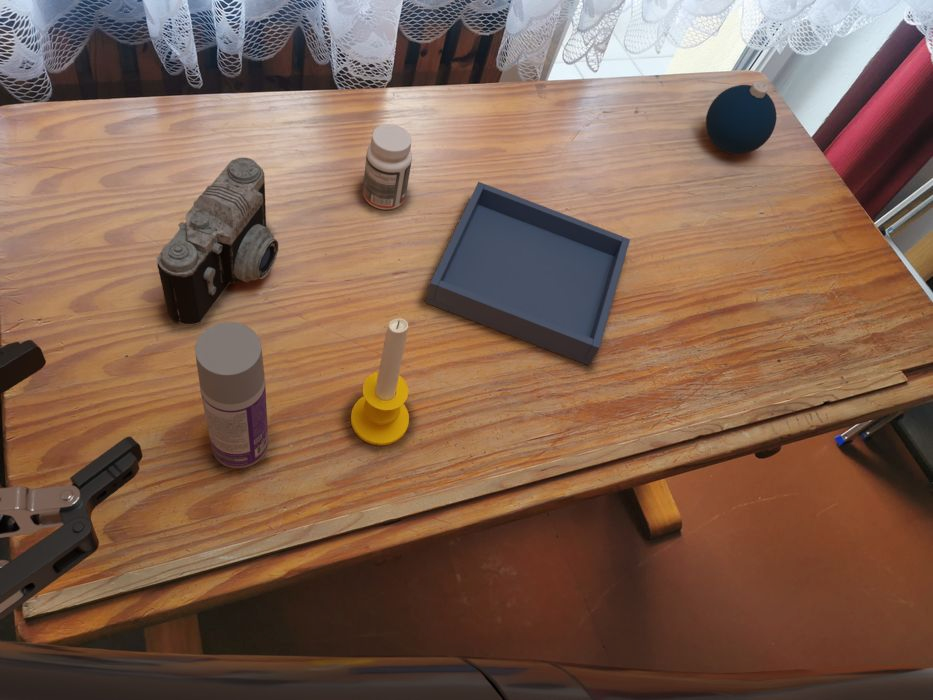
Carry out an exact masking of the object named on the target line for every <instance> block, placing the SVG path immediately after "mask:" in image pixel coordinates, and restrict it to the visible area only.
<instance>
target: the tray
mask: <svg viewBox="0 0 933 700" xmlns="http://www.w3.org/2000/svg"><path fill="white" fill-rule="evenodd" d="M630 241H631V238H629V237H625V236H623V235H620V234H617V233H615V232H612V231H609V230H608V229H604V228H601V227H599V226H597V225H594V224H591V223H589V222H586V221H584V220H581V219H579V218H575V217H573V216H571V215H568V214H565V213H562V212H560V211H557V210H555V209H552V208H549V207H547V206H544V205H542V204H539V203H536V202H534V201H531V200H528V199H526V198H523V197H522V196H521V197H520V196H518V195H515V194H512V193H510V192H507V191H504V190H502V189H499V188H497V187H495V186H491V185H488V184H486V183H483V182H481V181H478V182H477V184H476V186H475V187H474V189H473V192H472V194H471V197H470V199H469V201H468V202H467V204H466V207H465V209H464V211H463V213H462V215H461V218H460V219H459V222H458V223H457V226H456V227H455V230H454V232H453V234H452V236H451V238H450V241H448V244H447V246H446V248H445V251H444V253H443V255H442V257H441V260H440V261H439V263H438V266H437V267H436V269H435V272H434V274H433V276H432V278H431V280H430V282H429V287H428V290H427V295H426V299H425V304H428V305H431V306H434V307H436V308H439V309H441V310H444V311H446V312H448V313H451V314H453V315H454V314H455V315H456V316H458V317H462V318H465V319H467V320H470V321H472V322H475V323H477V324H480V325H483V326H484V327H488V328H490V329H493V330H495V331H498V332H501V333H502V334H503V333H504V334H506V335H508V336H511V337H513V338H516V339H518V340H522V341H523V342H526V343H529V344H531V345H534V346H536V347H539V348H542V349H544V350H547V351H550V352H553V353H555V354H556V355H560V356H563V357H565V358H567V359H570V360H573V361H576V362H578V363H581V364H583V365H586V366H590V365H591V363H592V362H593V360H594V358H595V357H596V355H597V354H598V352H599V350H600V348H601V345H602V341H603V337H604V334H605V330H606V326H607V323H608V319H609V316H610V313H611V309H612V307H613V306H612V305H613V303H614V299H615V295H616V290H617V288H618V284H619V280H620V277H621V273H622V269H623V266H624V263H625V259H626V256H627V252H628V248H629V246H630V245H629V244H630Z"/></svg>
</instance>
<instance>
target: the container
mask: <svg viewBox="0 0 933 700" xmlns="http://www.w3.org/2000/svg"><path fill="white" fill-rule="evenodd" d="M194 353H195V354H194V355H195V361H196V367H197V375H198V382H199V390H200V395H201V401H202V406H203V411H204V416H205V421H206V427H207V431H208V436H209V441H210V442H209V443H210V447H211V451H212V454H213V456H214V458H215V460H217V461H218V462H219V463H220V464H221V465H223V466H225V467H228V468H230V469H246V468H249V467H252V466H254V465H255V464H258V463H259V462H260V461H261V460H262V459H263V458H264V456H265V455H266V453H267V450H268V447H269V429H268V427H269V426H268V408H267V388H266V378H265V377H266V376H265V367H264V366H265V365H264V358H263V348H262V342H261V339H260V336H259V335H258V334H257V332H256V331H254V330H253V329H252V328H251V327H250V326H248V325H246V324H243V323H240V322H237V321H235V322H234V321H224V322H219V323H216V324H213V325H211V326H209V327H207V328H206V329H205V330H203V332H201V334H200V335H199V337H198V338H197V340H196V343H195V347H194Z"/></svg>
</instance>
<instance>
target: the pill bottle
mask: <svg viewBox="0 0 933 700" xmlns="http://www.w3.org/2000/svg"><path fill="white" fill-rule="evenodd" d="M408 131H409V130H408ZM408 131H407V130H406V129H405V128H404V127H402V126H400V125H398V124H393V123H385V124H381V125H379V126H377V127H376V128H374V130H373V131H372V134H371V140H370V143H369V144H368V146H367V149H366V155H365V163H364V164H365V165H364V174H363V175H364V176H363V184H362V195H363V198H364V199H365V201H366V202H367V203H368V204H369V205H370V206H371V207H373V208H376V209H379V210H386V211H387V210H394V209H396V208H398V207H400V206H402V204H403V203H404V202H405V200H406V197H407V192H408V191H407V190H408V184H409V180H410V175H411V173H410V172H411V168H412V163H413V153H412V150H411V149H412V136H411V133H410V132H408Z"/></svg>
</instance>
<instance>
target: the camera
mask: <svg viewBox="0 0 933 700" xmlns="http://www.w3.org/2000/svg"><path fill="white" fill-rule="evenodd" d="M265 180H266V179H265V171H264V169H263V168H262V167H261V166H260V165H259V164H258V163H257V162H256V161H255V160H254V159H252V158H250V157H237V158H234V159H231V160H230V162H229V163H228V164H227V165H226V167H225V168H224V169H223V170H222V171H221V172H220V173H219V175H217V177H216V178H215V179H214V181H213V182H212V183H211V184H210V185H207V187H206V188H205V190H204V191H203V192H202V194H201V195H199V196H198V197H197V199H196V200H194V201H193V205H192V207H191V208H190V209H189V210H188V211H187V213H186V214H185V222H182V221H180V222H179V223H178V227H179V229H178V231H177V232H176V233H175V234H174V236H173V237H172V238H171V239H170V241H169V242H168V243H166V244H165V245H164V246H163V247H162V249H161V251H160V253H159V254H158V255H157V256H156V261H157V262H156V263H157V269H158V273H159V279H160V283H161V288H162V293H163V297H164V301H165V306H166V310H167V314H168V315H169V316H170V318H171V320H172V321H174V322H176V323H179V324H181V325H186V326H188V325H189V326H191V325H193V326H194V325H197V324H200V323H202V321H203V320H204V318H205V317H206V316H207V314H208V313H209V312H210V311H211V309H212V307H214V305H215V303H216V302H217V301H218V299H219V298H220V297H221V295H222V294H223V293H224V291H226V289H227V287H228V286H229V285H230V284H232V285H233V284H234V285H236V283H239V282H241V281H243V282H245V283H249V282H251V281H256V280H263V279H265V278H266V277H267V276H268V274H269V273H270V272H271V270H272V268H273V267H274V265H275V262H276V260H277V257H278V252H279V241H278V240H277V239H276V238H275V237H274V235H273V233H271V229H270V228H269V227H267V211H266V209H267V207H266V183H265V182H266V181H265Z"/></svg>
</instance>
